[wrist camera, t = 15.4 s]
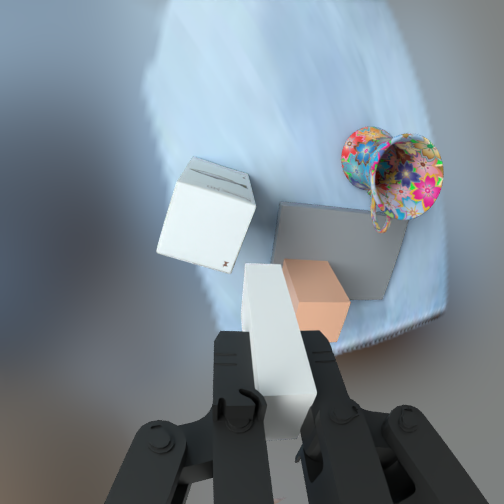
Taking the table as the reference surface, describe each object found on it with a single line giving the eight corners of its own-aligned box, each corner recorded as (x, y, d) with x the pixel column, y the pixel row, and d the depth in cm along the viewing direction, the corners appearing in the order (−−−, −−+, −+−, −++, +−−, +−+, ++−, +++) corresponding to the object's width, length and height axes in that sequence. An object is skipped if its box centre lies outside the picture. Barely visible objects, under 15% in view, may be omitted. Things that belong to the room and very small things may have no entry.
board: (279, 201, 39) (281, 205, 37) (404, 215, 41) (408, 219, 40) (266, 292, 45) (267, 298, 44) (378, 294, 47) (382, 299, 46)
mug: (345, 114, 34) (385, 121, 25) (404, 134, 35) (452, 149, 26) (323, 202, 39) (352, 236, 30) (381, 214, 41) (420, 248, 31)
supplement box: (249, 172, 37) (260, 206, 26) (229, 225, 40) (231, 277, 29) (192, 153, 35) (176, 179, 24) (174, 208, 38) (154, 255, 27)
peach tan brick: (284, 258, 41) (299, 301, 33) (327, 261, 42) (350, 302, 33) (277, 296, 44) (288, 343, 35) (318, 297, 45) (336, 341, 36)
